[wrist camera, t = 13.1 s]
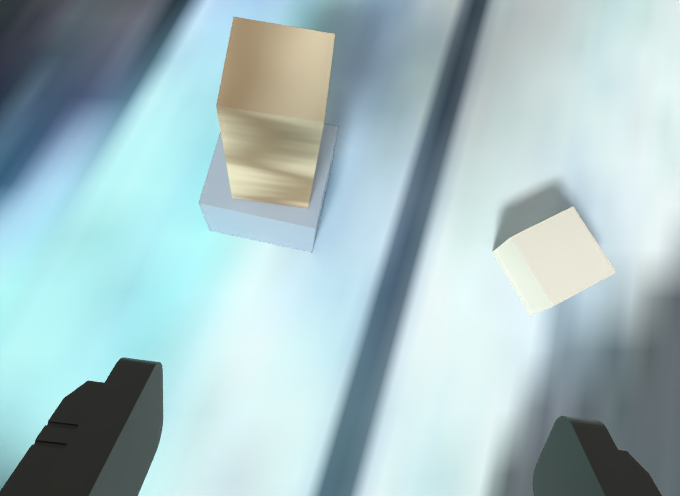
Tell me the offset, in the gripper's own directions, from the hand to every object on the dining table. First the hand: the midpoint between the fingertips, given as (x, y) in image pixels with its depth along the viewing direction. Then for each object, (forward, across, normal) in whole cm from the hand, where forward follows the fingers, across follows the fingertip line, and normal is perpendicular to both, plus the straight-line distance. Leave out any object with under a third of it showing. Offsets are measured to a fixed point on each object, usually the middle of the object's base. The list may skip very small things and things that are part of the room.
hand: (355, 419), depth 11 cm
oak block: (+23, +4, +3) cm, 24 cm away
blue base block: (+27, +5, +7) cm, 28 cm away
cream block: (+25, -14, +9) cm, 30 cm away
